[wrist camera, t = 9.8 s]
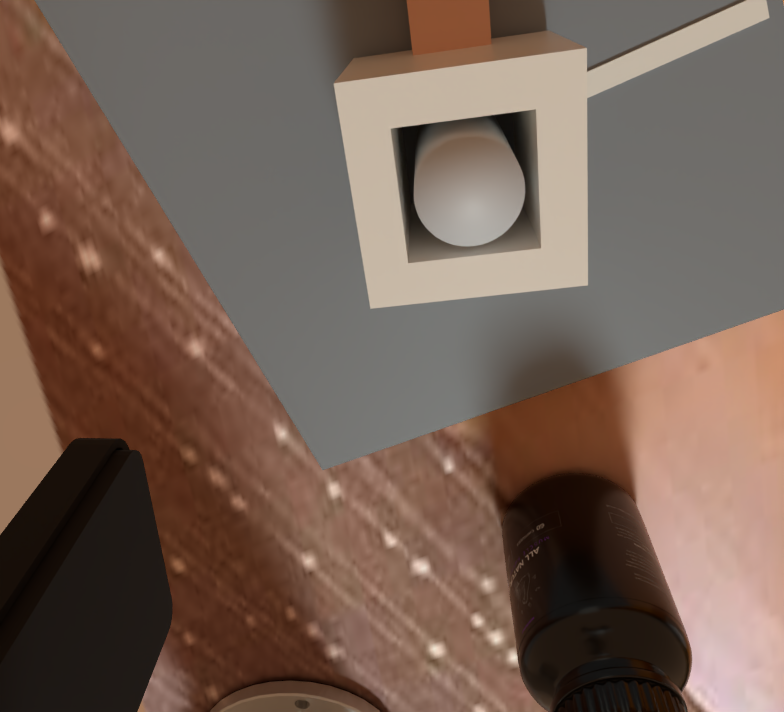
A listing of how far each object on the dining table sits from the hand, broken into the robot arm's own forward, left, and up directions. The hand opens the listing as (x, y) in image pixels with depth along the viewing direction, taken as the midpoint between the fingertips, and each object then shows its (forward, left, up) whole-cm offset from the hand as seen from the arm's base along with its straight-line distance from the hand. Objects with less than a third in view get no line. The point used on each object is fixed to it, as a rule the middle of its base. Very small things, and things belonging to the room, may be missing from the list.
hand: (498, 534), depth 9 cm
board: (+1, +1, -21) cm, 21 cm away
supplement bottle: (-1, -19, -21) cm, 28 cm away
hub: (+1, +3, -18) cm, 19 cm away
